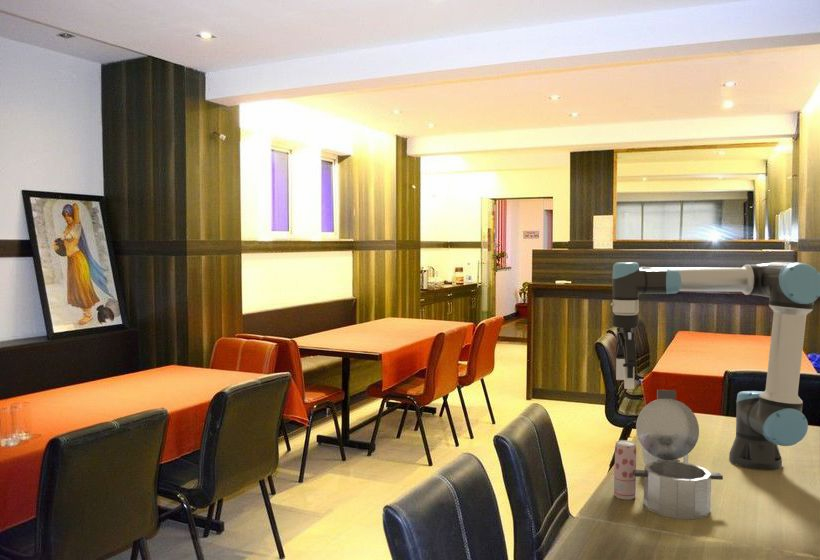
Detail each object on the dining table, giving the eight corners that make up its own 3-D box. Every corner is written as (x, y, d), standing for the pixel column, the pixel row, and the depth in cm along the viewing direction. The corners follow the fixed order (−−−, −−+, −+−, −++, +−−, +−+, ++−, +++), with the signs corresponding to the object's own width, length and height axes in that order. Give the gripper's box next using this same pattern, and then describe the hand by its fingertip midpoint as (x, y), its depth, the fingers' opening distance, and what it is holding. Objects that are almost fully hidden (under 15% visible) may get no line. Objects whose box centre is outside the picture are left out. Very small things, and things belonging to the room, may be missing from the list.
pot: (710, 498, 192) (711, 462, 192) (731, 521, 176) (732, 482, 176) (626, 494, 194) (627, 459, 194) (640, 517, 178) (641, 478, 178)
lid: (700, 464, 192) (697, 463, 195) (698, 391, 195) (695, 390, 197) (637, 462, 194) (635, 460, 196) (636, 389, 196) (634, 389, 199)
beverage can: (609, 494, 195) (610, 441, 194) (625, 491, 197) (626, 439, 196) (623, 501, 190) (624, 446, 189) (639, 498, 192) (641, 444, 191)
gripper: (605, 309, 222) (605, 376, 223) (620, 318, 197) (619, 392, 198) (630, 309, 221) (629, 376, 222) (647, 318, 196) (646, 392, 197)
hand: (624, 384), depth 210 cm, fingers open, 13 cm apart
